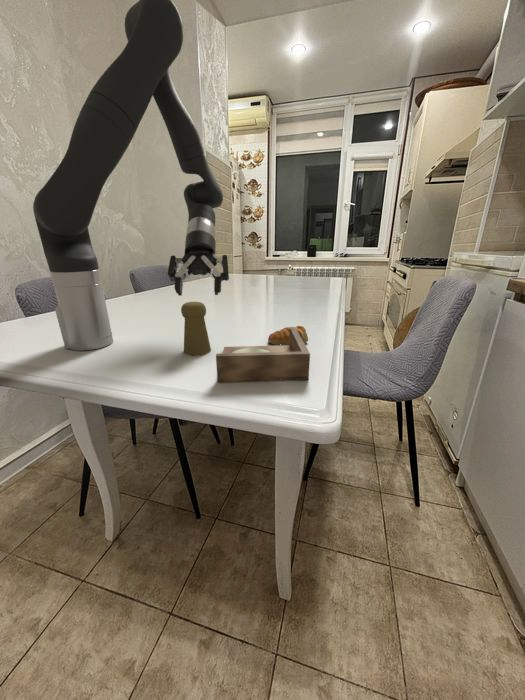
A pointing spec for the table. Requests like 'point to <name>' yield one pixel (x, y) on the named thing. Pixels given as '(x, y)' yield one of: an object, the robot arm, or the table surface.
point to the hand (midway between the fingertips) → (197, 293)
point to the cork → (195, 329)
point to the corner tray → (264, 362)
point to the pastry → (286, 336)
